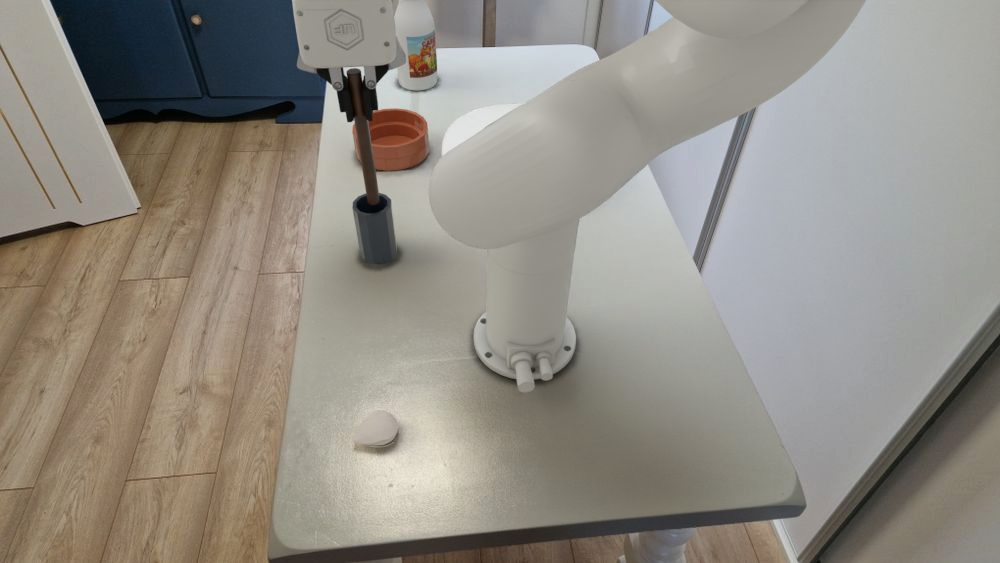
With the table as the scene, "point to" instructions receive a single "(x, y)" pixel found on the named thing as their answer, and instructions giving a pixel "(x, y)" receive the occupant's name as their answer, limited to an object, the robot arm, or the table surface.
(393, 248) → the pot
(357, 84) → the stick
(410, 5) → the milk bottle
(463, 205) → the robot arm
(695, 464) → the table surface
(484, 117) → the plate
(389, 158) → the bowl
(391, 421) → the grey pebble
